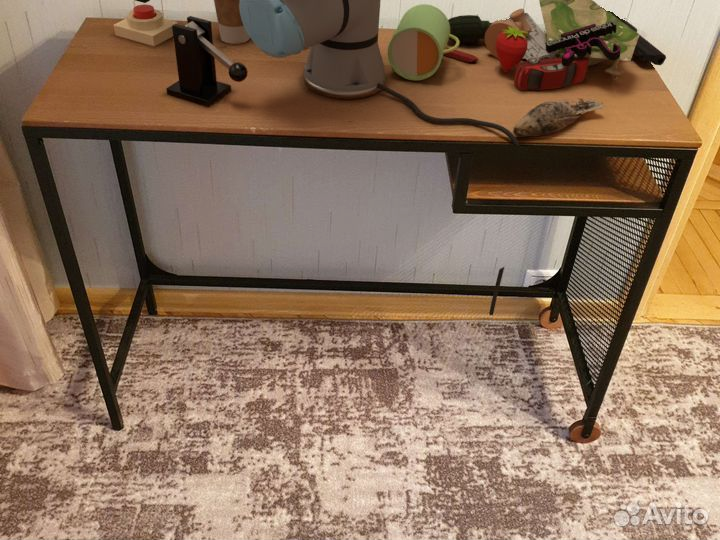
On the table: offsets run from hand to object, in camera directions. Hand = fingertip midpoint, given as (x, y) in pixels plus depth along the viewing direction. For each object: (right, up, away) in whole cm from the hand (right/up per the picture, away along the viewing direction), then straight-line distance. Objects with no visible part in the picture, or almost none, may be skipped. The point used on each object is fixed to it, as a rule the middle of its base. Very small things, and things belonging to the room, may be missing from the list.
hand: (142, 0), depth 143 cm
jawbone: (+92, -12, +3) cm, 93 cm away
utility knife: (+61, -10, +2) cm, 62 cm away
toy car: (+79, -14, -5) cm, 81 cm away
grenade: (+61, -4, +5) cm, 61 cm away
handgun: (+110, -2, +16) cm, 111 cm away
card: (+88, -5, 0) cm, 88 cm away
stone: (+83, -4, +9) cm, 84 cm away
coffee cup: (+18, -6, +5) cm, 19 cm away
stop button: (0, -2, +2) cm, 3 cm away
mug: (+57, -7, -1) cm, 58 cm away
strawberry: (+72, -15, -1) cm, 73 cm away
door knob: (+72, -2, 0) cm, 72 cm away
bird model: (+77, -24, -20) cm, 83 cm away
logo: (+85, -8, -5) cm, 85 cm away
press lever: (+18, -17, -19) cm, 32 cm away
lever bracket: (+14, -22, -13) cm, 29 cm away
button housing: (0, -5, +4) cm, 7 cm away
